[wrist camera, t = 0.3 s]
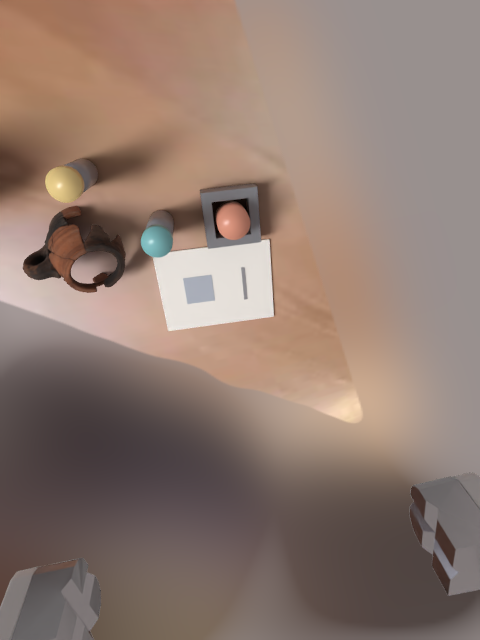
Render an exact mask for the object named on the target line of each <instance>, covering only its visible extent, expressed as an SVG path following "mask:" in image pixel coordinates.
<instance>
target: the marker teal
mask: <svg viewBox="0 0 480 640" xmlns="http://www.w3.org/2000/svg"><path fill="white" fill-rule="evenodd" d="M173 228H174V219H173V217H172V216H171V214H170V213H168V212H167V211H164V210H157V211H155V212H153V213H152V214H151V216H150V218H149V221H148V224H147V226H146V229H145V230H144V232H143V235H142V238H141V246H142V248H143V250H144V251H145V252H146V253H147V254H148V255H150V256H152V257H156V258H159V257H163V256H165V255H167V254H168V253H169V252H170V250H171V248H172V243H173V237H172V236H173Z"/></svg>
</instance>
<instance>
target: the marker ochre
mask: <svg viewBox="0 0 480 640" xmlns="http://www.w3.org/2000/svg"><path fill="white" fill-rule="evenodd" d="M97 179H98V171H97V168H96V167H95V165H94V164H93V163H92V162H91V161H89V160H87V159H78V160H75V161H73V162H71V163H68V164H66V165H64V166H59V167H56V168H54V169H52V170H50V171H49V172H48V174H47V176H46V180H45V184H46V188H47V190H48V192H49V194H50V195H51V196H52V197H53V198H54V199H56V200H58V201H60V202H64V203H69V202H73V201H75V200H76V199H77V198H79V197H80V196H81V195H82V193H83V192H85V191H86V190H87V189H88V188H90V187H91V186H92V185H94V184H95V183H96V181H97Z"/></svg>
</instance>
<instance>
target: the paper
mask: <svg viewBox="0 0 480 640" xmlns="http://www.w3.org/2000/svg"><path fill="white" fill-rule="evenodd" d="M153 260H154V265H155V270H156V275H157V279H158V284H159V289H160V294H161V299H162V303H163V308H164V313H165V318H166V322H167V327H168V331H173V330H180V329H187V328H194V327H202V326H209V325H216V324H223V323H231V322H238V321H245V320H252V319H259V318H267V317H274V308H273V291H272V274H271V257H270V240H269V239H265V240H261V242H258V243H251V244H243V245H235V246H227V247H219V248H211V249H208V247H202V248H194V249H186V250H178V251H171V252H169V253H168V254H167V255H165V256H163V257H159V258H156V257H153Z"/></svg>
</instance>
